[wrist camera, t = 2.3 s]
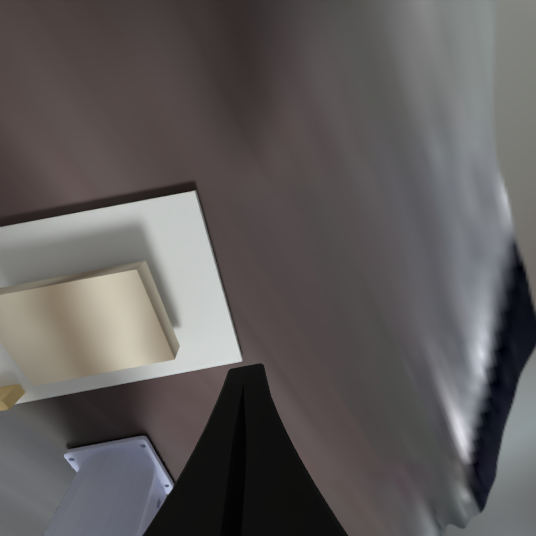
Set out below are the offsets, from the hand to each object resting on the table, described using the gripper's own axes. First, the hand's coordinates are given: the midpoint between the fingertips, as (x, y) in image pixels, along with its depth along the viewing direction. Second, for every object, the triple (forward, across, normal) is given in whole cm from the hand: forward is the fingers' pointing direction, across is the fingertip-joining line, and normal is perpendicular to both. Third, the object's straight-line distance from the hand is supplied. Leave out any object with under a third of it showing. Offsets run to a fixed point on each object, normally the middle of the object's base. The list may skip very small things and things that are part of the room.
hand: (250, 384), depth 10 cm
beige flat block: (+9, +11, 0) cm, 14 cm away
